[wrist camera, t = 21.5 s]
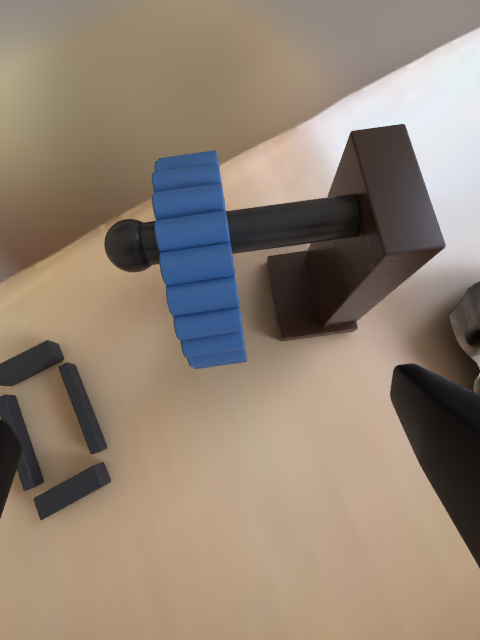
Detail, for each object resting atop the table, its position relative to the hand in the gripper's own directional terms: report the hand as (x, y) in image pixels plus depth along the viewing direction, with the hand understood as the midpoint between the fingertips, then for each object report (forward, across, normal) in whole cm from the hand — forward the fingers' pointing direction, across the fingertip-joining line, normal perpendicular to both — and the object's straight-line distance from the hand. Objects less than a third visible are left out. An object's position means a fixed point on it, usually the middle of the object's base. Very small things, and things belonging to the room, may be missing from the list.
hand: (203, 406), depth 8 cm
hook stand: (+13, -2, +4) cm, 14 cm away
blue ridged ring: (+9, 0, 0) cm, 9 cm away
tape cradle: (+9, +11, +8) cm, 16 cm away
